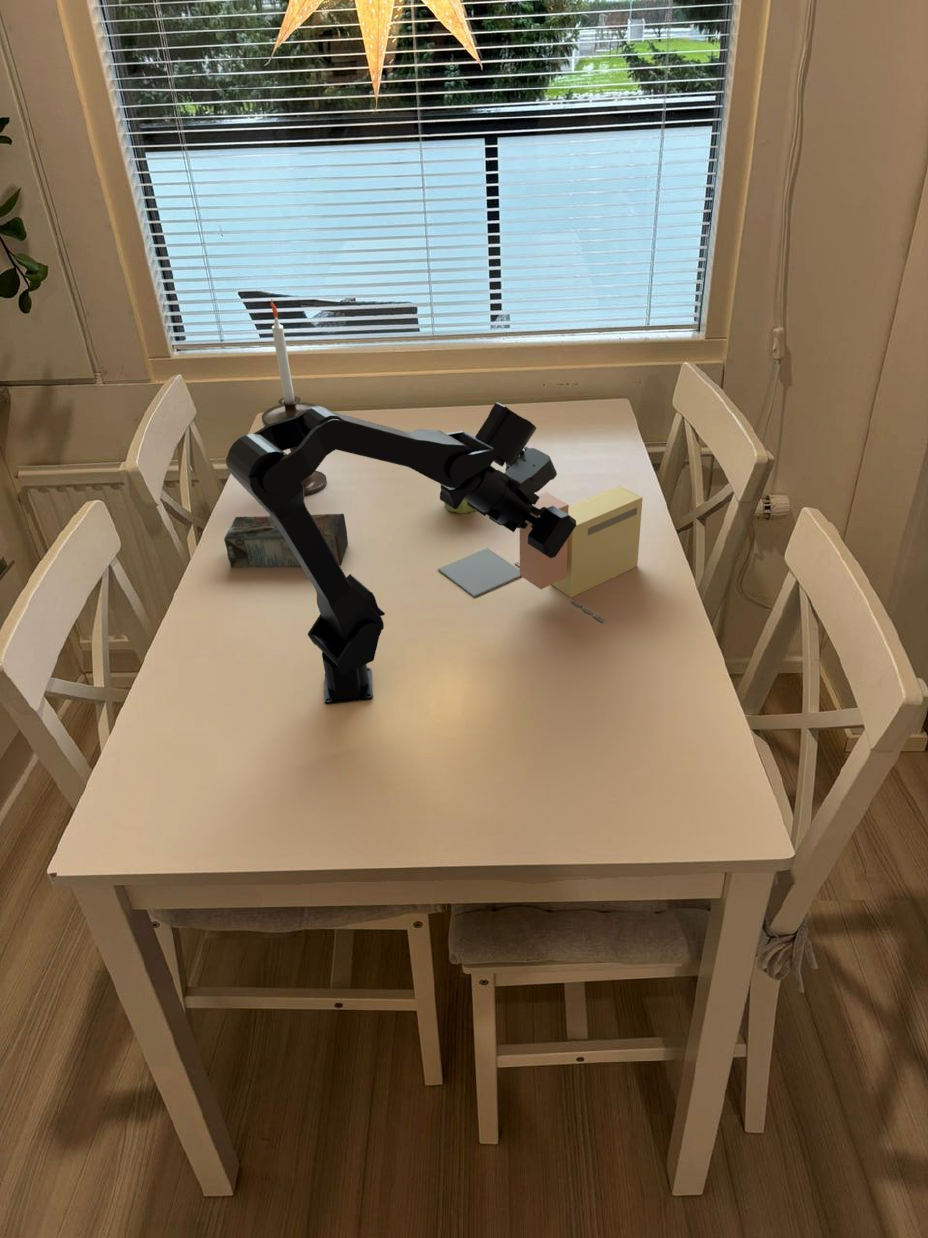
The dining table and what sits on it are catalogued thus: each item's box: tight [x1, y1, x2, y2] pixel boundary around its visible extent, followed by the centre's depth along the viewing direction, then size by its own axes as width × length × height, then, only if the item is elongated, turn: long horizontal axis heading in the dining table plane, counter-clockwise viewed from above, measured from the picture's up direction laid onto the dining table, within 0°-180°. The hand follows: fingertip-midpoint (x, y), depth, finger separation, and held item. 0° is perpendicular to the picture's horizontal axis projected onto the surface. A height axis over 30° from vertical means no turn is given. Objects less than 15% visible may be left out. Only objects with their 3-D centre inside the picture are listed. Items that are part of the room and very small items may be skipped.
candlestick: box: [261, 298, 328, 497], centre depth 167 cm, size 11×11×35 cm
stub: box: [519, 491, 569, 590], centre depth 137 cm, size 5×5×12 cm
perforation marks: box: [514, 561, 605, 624], centre depth 144 cm, size 1×21×1 cm, turn 35°
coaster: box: [437, 547, 522, 598], centre depth 149 cm, size 10×10×1 cm
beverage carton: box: [223, 513, 349, 569], centre depth 155 cm, size 8×19×7 cm, turn 87°
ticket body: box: [551, 485, 643, 598], centre depth 144 cm, size 14×5×12 cm, turn 125°
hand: (550, 534), depth 137 cm, fingers closed on stub, 5 cm apart
